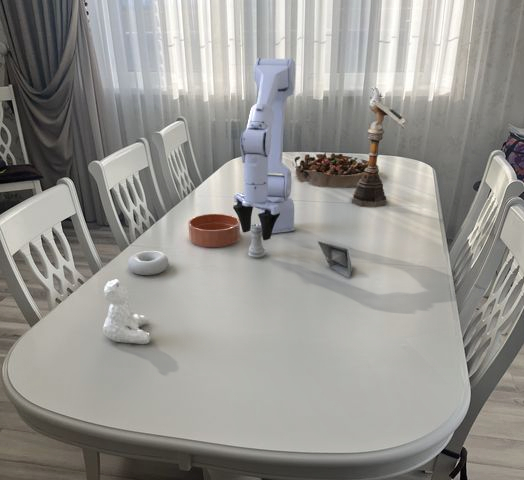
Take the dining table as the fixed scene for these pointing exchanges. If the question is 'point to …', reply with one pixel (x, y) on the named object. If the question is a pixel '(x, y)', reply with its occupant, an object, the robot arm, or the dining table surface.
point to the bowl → (214, 230)
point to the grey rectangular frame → (337, 258)
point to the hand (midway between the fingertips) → (256, 235)
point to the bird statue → (374, 156)
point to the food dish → (330, 170)
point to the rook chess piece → (256, 242)
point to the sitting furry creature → (122, 317)
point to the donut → (148, 262)
